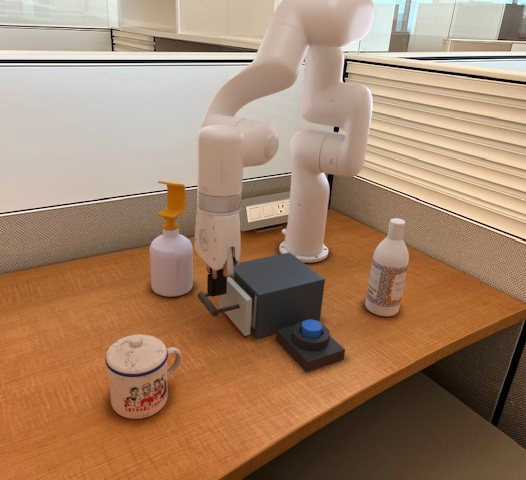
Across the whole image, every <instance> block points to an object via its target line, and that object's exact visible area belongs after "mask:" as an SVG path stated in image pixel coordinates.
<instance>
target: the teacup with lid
mask: <svg viewBox="0 0 526 480" xmlns="http://www.w3.org/2000/svg"><path fill="white" fill-rule="evenodd" d="M107 349H108V350H107V351H106V353H105V358H104V362H105V365H106V367H107V377H108V385H109V394H110V395H109V396H110V404H111V407H112V409H113V410H114V411H115V413H117V414H118V415H119V416H121V417H123V418H127V419H132V420H137V419H138V420H139V419H145V418H149V417H152V416H153V415H155V414H157V413H158V412H159V411H160V410H162V409H163V408H164V406H165V405H166V403H167V401H168V398H169V397H168V396H169V393H168V378H169V377H171V376H173V375H174V374H176V372H177V371H178V370H179V369H180V367H181V365H182V361H183V353H182V351H181V350H180V349H179V348H177V347H175V346H174V347H173V346H172V347H167V346H166V344H165V343H164V342H163V341H162V340H161V339H159V338H158V337H156V336H153V335H149V334H141V333H139V334H132V335H127V336H124V337H121V338H120V339H118V340H116V341H114V343H112V344H111V345H110V346H109V347H108V348H107ZM171 355H175V359H174V362H173V363H172V364H171V366H170V367H169V368H168V365H167V364H168V363H167V362H168V361H167V360H168V358H169V356H171Z"/></svg>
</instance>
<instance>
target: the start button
mask: <svg viewBox="0 0 526 480" xmlns="http://www.w3.org/2000/svg"><path fill="white" fill-rule="evenodd" d="M321 324H322V323H321V322H320V321H316V320H311V319H309V320H305V321H303V322H302V327H301V334H302V335H303V336H305V337H307V338H314V339H315V338H319V337H320V336H321V332H322V325H321Z"/></svg>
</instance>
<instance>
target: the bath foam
mask: <svg viewBox="0 0 526 480" xmlns="http://www.w3.org/2000/svg"><path fill="white" fill-rule="evenodd" d="M405 228H406V221H405V220H404V219H402V218H396V217H395V218H394V217H393V218H391V219H390V220H389V224H388V230H387V236H386V237H385V238H384V239H382V240H381V241H380V242H379V244H378V245H377V246H376V248H375V250H374V251H373V255H372V260H371V265H370V272H369V277H368V282H367V288H366V295H365V301H364V302H365V303H364V306H365V308H366V309H367V310H368V312H370V313H371V314H374V315H376V316H378V317H379V316H380V317H393V316H395V315H397V314H398V313H399V311H400V306H401V301H402V296H403V292H404V287H405V282H406V278H407V273H408V268H409V263H410V262H409V261H410V254H409V249H408V247H407V245H406V243H405V241H404V239H403V238H404V234H405Z"/></svg>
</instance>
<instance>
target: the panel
mask: <svg viewBox="0 0 526 480" xmlns="http://www.w3.org/2000/svg"><path fill="white" fill-rule="evenodd" d="M302 322H303V321H302ZM302 322H299V323H297V324H296V325H293V326H290V327H286V328H283V329H279V330H277V333H276V337H275V340H276V341H277V342H278V343H279V344H280V346H282V348H283V349H285V351H286V352H287V353H288V354H289V355H290V356H291V357H292V358H293V360H295V361H296V362H297V364H299V366H300V367H301V368H302V369H303V370H304V371H305V372H306V373H308V372H311V371H315V370H316V369H317V370H318V369H320V368H322V367H325V366H328V365H331V364H334V363H337V362H341V361H343V360H344V359H345V354H346V348H344V347H343V346H342V345H341V344H340V343H338V341H337V340H335V339H334V337H332V336H331V334H330V330H329V328H328V327H326V325H325V324H323V323H321V325H322V332H321V336H320V337H319V338H315V339H314V338H307V337H305V336H303V335H302V334H301V327H302Z"/></svg>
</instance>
